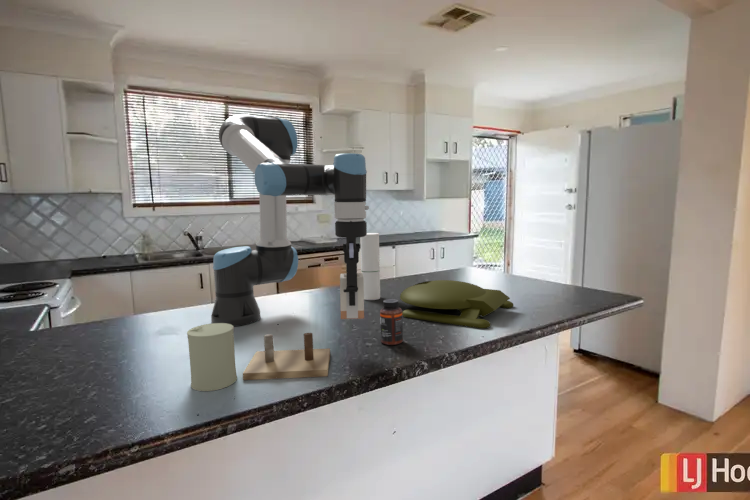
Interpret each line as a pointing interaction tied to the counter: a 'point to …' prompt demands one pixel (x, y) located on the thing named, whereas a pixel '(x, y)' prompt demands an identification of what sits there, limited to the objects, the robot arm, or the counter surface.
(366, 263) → the cylindrical container
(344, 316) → the sleeve
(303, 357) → the pin board
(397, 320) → the supplement bottle
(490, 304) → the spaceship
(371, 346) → the counter surface
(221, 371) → the can
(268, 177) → the robot arm
